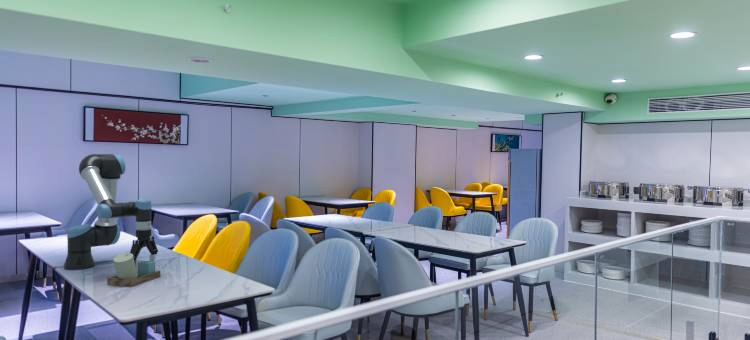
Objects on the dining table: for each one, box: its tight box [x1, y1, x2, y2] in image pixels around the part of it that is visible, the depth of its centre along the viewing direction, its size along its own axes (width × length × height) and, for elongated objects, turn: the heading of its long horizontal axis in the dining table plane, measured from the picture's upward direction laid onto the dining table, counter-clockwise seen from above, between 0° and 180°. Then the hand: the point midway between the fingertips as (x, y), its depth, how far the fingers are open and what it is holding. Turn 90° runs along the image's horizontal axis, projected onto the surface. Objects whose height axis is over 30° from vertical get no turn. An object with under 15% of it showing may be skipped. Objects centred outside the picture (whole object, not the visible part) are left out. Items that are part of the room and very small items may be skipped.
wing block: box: [137, 260, 156, 276], centre depth 276 cm, size 10×5×7 cm, turn 76°
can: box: [112, 252, 138, 280], centre depth 262 cm, size 9×9×12 cm
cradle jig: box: [106, 270, 161, 288], centre depth 269 cm, size 14×22×3 cm, turn 166°
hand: (143, 269), depth 276 cm, fingers open, 13 cm apart
